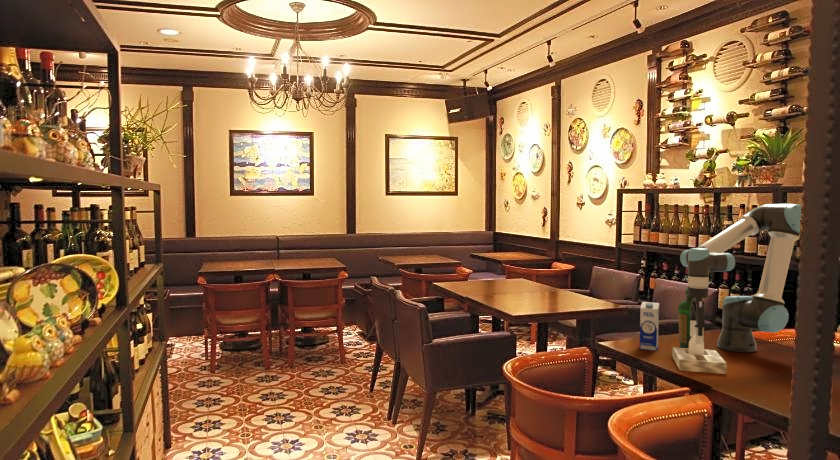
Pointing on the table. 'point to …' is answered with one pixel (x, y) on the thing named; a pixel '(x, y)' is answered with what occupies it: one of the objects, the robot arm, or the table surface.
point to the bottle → (685, 322)
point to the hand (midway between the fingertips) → (696, 340)
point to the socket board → (699, 361)
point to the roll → (695, 346)
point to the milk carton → (649, 326)
